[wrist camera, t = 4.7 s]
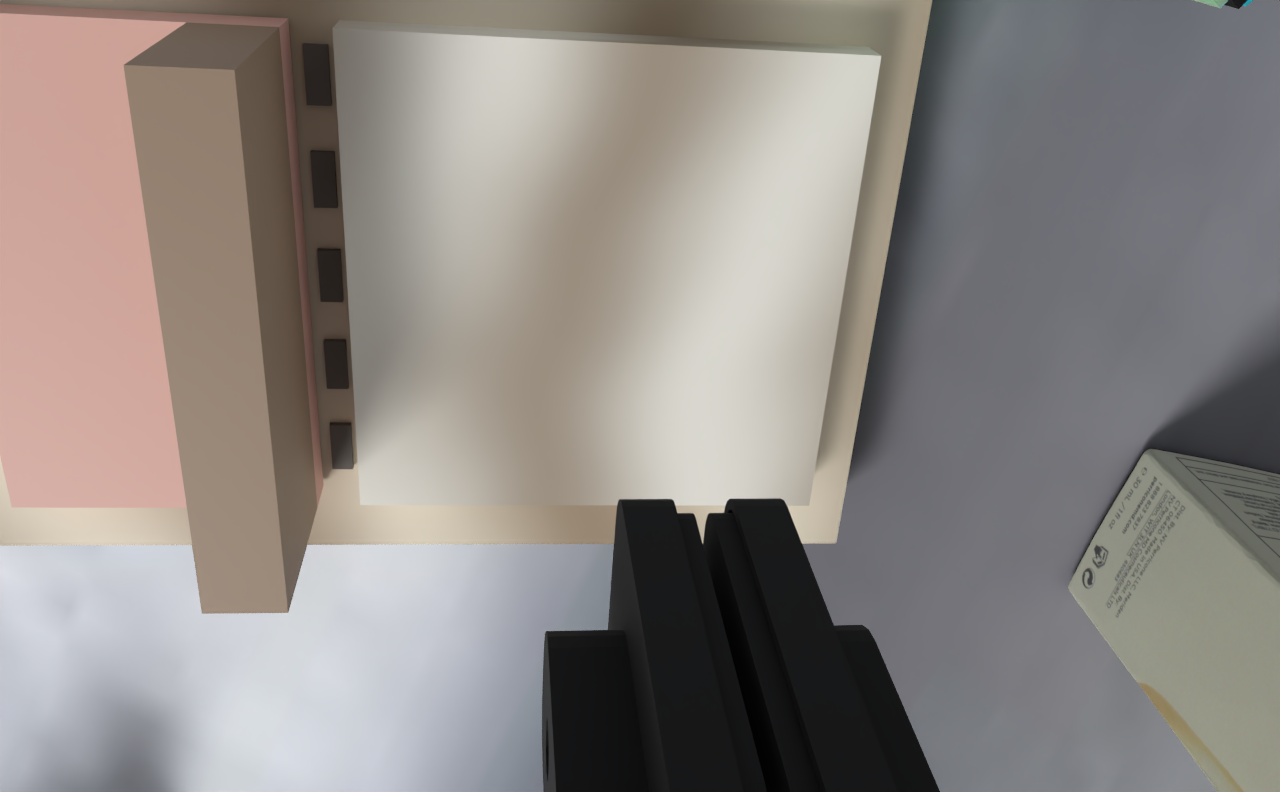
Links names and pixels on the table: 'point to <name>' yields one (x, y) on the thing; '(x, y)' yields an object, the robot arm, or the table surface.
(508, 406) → the ticket board
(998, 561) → the table surface
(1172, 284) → the table surface
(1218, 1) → the puzzle toy
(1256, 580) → the skincare box
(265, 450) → the pink board with rim
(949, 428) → the table surface
